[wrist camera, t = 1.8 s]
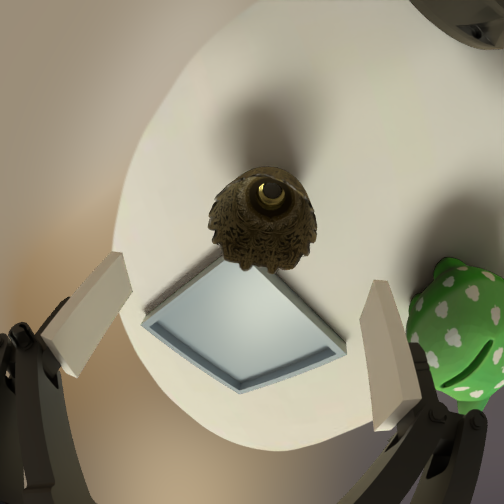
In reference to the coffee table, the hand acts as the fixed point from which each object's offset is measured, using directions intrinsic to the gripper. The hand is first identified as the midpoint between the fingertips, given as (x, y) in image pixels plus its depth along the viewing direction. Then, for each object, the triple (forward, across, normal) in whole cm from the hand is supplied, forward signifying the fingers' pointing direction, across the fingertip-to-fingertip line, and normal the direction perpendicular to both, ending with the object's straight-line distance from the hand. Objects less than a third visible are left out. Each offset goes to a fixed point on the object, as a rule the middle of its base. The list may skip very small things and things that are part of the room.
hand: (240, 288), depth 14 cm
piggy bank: (+14, +24, -10) cm, 30 cm away
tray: (+14, -2, -20) cm, 24 cm away
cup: (+14, 0, 0) cm, 14 cm away
